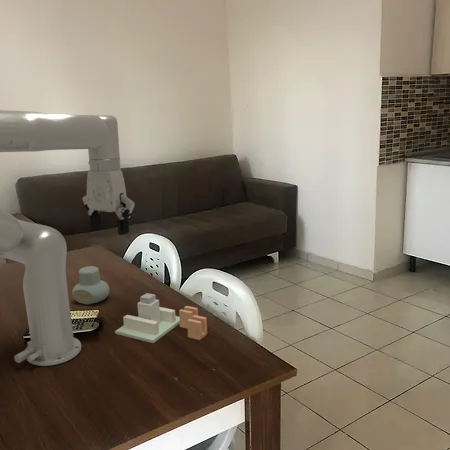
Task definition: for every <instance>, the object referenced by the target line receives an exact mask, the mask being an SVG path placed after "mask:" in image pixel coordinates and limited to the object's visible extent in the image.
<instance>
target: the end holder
mask: <svg viewBox="0 0 450 450" xmlns="http://www.w3.org/2000/svg"><path fill="white" fill-rule="evenodd" d="M159 307H160V321H161V322H160V323H158V322H157V321H153V320H148V319H144V318H139V316H135V315H130V314H126V315H124V316H123V318H122V319H123V325H122V326H121V327H119V328H118V329H116V330H115V331H114V333H115V335H118V336H123V337H126V338H131V339H135V340H139V341H143V342H147V343H150V344H155V342H157V341H159V340H160V339H161V338H162V337H164V336H165V335H166V334H168V333H169V332H170V331H172V330H173V329H175V328H176V327H177V326H178V325H180V315H179V316H177V315H176V310H175V309H171V308H168V307H161V306H159Z"/></svg>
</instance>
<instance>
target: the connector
mask: <svg viewBox="0 0 450 450" xmlns="http://www.w3.org/2000/svg"><path fill="white" fill-rule="evenodd" d="M139 299H140V301H138V302H137V315H138V316H139V318H144V319H148V320H153V321H157V322H158V323H160V322H161V321H160V307H161V306H160V300H159V299H156V294H154V293H149V292H148V293H147V292H146V293H144V294H143V295H141V296H140V297H139ZM138 316H137V317H138Z"/></svg>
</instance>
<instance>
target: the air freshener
mask: <svg viewBox="0 0 450 450" xmlns="http://www.w3.org/2000/svg"><path fill="white" fill-rule="evenodd" d="M100 276H101V275H100V269H99V267H97V266H89V265H88V266H84V267H82V268H80V269H79V270H78V278H79V279H78V280H79V282H78V283H77V284H76V285H74V287H73V288H72V291H71V295H72V298H73V299H74V300H75V301H76V302H78V303H80V304H83V305H88V306H89V305H94V304H98V303H100V302H102V301H104V300H105V299H106V298H107V297H108V296H109V294H110V291H111V288H110V285H109V284H108V283H107V282H106V281H104V280H102V279H101V277H100Z"/></svg>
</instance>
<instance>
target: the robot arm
mask: <svg viewBox="0 0 450 450" xmlns="http://www.w3.org/2000/svg"><path fill="white" fill-rule="evenodd" d="M118 125H119V124H118V119H117V118H116V117H115V116H114V115H109V114H108V115H106V114H105V115H103V114H102V115H101V114H100V115H98V114H97V115H95V114H67V113H66V114H63V113H61V114H60V113H46V112H44V113H43V112H38V111H27V110H25V111H24V110H0V153H23V152H32V153H33V152H46V151H62V150H64V151H65V150H66V151H67V150H69V151H70V150H87V151H88V153H87V154H88V165H89V170H87V171H88V172H87V176H86V177H87V178H86V195H84V196H83V197H82V202H83V205H84V207H85V209H86V211H87V215H88V216H89V217H90V218H89V219H90V230H91V231H97V230H100V229H102V228H103V225H102V216H101V215H102V214H101V213H100V212H104V213H105V212H106V213H115V215H116V216H117V217H118V219H117V231H118V232H117V233H118V235H119V236H123V235H126V234H129V232H130V228H129V219H130V218H131V215H132V214H133V212H134V207H135V202H134V201H133V200H132V199H130V198H129V197H128V196H127V190H126V184H125V178H124V175H123V171H122V170H121V155H120V143H119V142H120V140H119V126H118ZM67 250H68V248H67V241H66V239H65V237H64V235H63V234H62V233H61V232H60V231H58V230H57V229H55V228H53V227H51V226H48V225H45V224H44V225H43V224H40V223H35V222H30V221H29V222H28V221H26V220H25V221H24V220H20V219H18V218H16V217H15V216H14V215H12V214H11V213H9V212H8V211H5V210H3V209H1V208H0V257H1V258H4V259H8V260H11V261H14V262H18V263H21V264H22V265H24V266H25V268H24V274H23V279H22V289H23V296H24V303H25V308H26V309H25V310H26V316H27V323H28V329H29V337H30V340H29V341H27V342H26V344H27V347H26V348H24V350H23V351H20V352H18V353H17V354H15V355H14V358H13V359H14V361H15V362H16V363H19V364H20V363H22V362H24V361H27V362H28V363H29V364H32V365H35V366H41V367H47V366H48V367H50V366H54V365H55V366H56V365H60V364H62V363H63V364H64V363H66V362H68V361H70V360H72V359H73V358H75V357H77V356H78V354H79V353H80V352H81V350H82V343H81V341H80V340H79V339H78V338H76V337H74V331H73V330H74V329H73V323H72V315H71V308H70V301H69V300H70V298H69V292H68V291H69V290H68V282H67V281H68V280H67V273H66V271H67V270H66V267H67V266H66V264H67Z"/></svg>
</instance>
